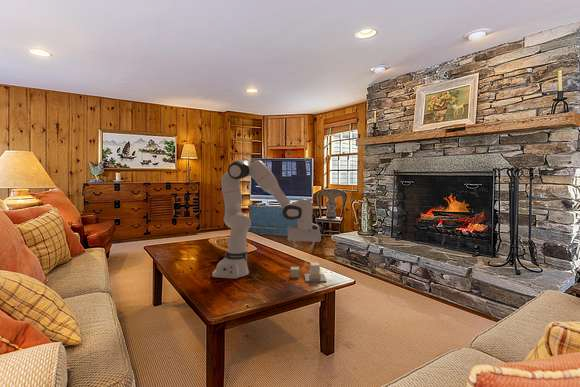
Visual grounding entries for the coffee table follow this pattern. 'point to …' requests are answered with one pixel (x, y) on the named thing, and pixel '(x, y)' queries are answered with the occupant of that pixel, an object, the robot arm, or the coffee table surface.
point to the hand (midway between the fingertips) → (303, 248)
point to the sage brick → (294, 271)
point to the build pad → (307, 278)
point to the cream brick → (315, 268)
